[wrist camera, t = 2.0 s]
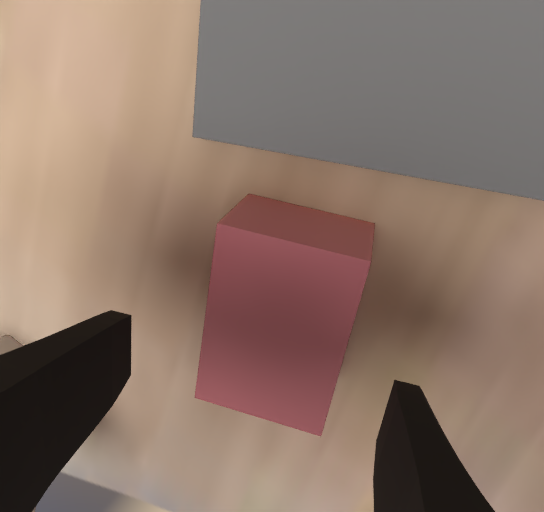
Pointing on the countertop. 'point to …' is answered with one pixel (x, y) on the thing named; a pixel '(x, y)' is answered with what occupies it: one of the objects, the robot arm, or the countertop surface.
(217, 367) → the pink rectangular block
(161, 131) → the countertop surface
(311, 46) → the mat
